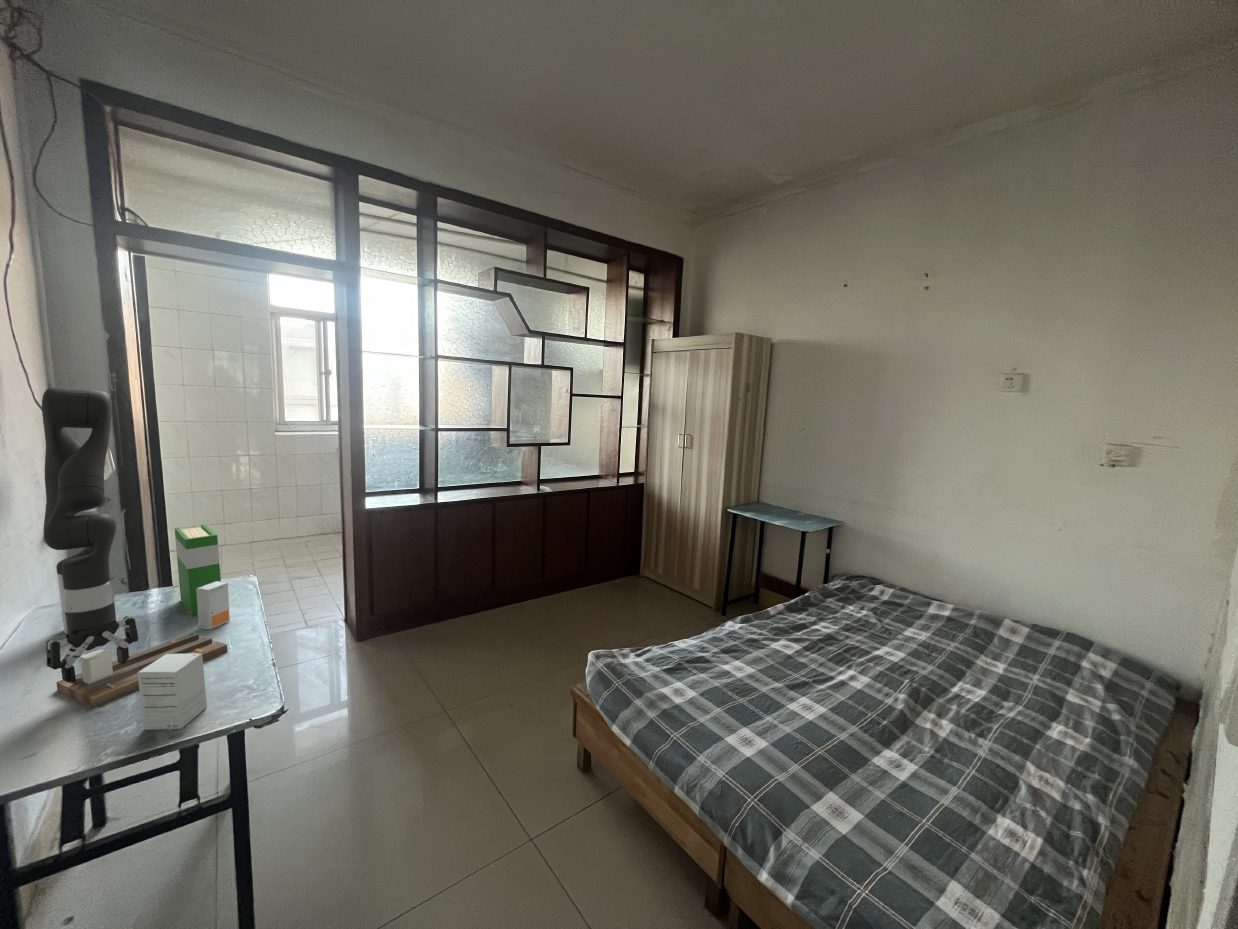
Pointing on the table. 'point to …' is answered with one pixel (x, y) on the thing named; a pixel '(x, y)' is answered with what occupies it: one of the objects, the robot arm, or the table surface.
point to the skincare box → (213, 605)
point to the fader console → (137, 669)
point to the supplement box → (172, 691)
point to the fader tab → (96, 666)
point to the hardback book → (196, 562)
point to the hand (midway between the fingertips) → (97, 672)
